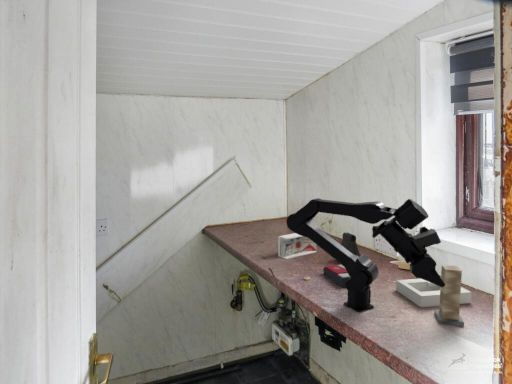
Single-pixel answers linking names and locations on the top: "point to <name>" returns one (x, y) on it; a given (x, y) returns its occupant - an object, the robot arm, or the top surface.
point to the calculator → (337, 274)
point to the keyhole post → (450, 297)
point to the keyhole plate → (426, 292)
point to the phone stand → (350, 243)
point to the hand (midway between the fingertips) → (440, 280)
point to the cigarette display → (295, 246)
